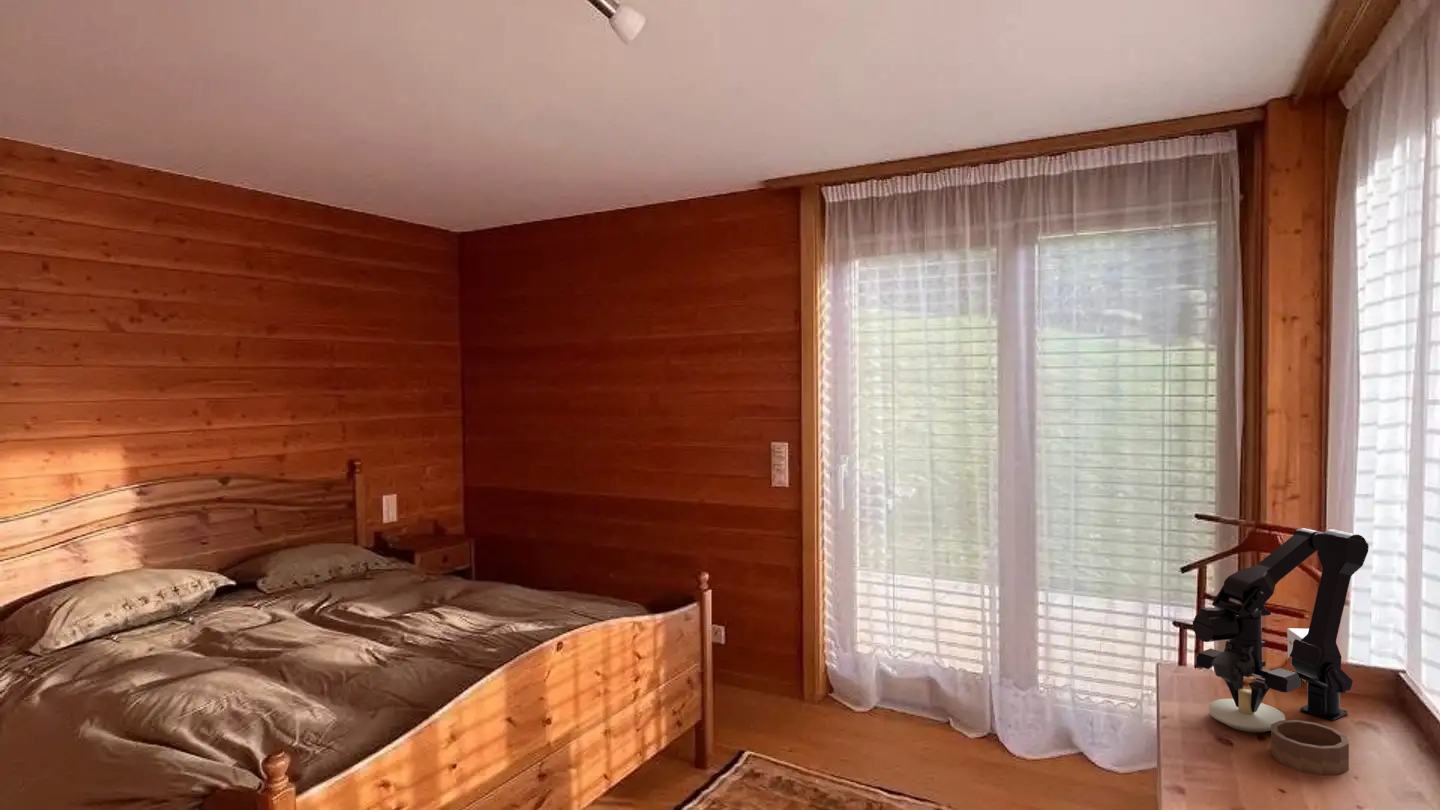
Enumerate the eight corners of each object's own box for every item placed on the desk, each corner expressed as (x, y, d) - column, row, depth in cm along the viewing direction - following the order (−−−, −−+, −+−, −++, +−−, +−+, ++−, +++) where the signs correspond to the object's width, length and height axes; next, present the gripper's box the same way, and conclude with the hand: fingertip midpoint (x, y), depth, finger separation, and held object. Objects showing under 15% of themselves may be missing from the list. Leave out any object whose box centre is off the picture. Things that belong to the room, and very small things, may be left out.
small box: (1330, 683, 195) (1329, 639, 195) (1303, 683, 196) (1302, 638, 196) (1313, 670, 203) (1312, 628, 202) (1287, 670, 204) (1286, 627, 204)
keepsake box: (1292, 739, 169) (1292, 715, 169) (1360, 763, 159) (1360, 737, 158) (1258, 755, 164) (1258, 730, 163) (1327, 781, 153) (1326, 754, 153)
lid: (1232, 704, 186) (1232, 674, 186) (1299, 727, 174) (1298, 694, 174) (1195, 719, 180) (1195, 688, 180) (1261, 744, 168) (1261, 710, 168)
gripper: (1179, 632, 180) (1180, 703, 181) (1270, 657, 164) (1271, 735, 165) (1210, 622, 186) (1211, 691, 187) (1302, 645, 169) (1302, 721, 170)
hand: (1246, 709), depth 177 cm, fingers closed on lid, 3 cm apart
